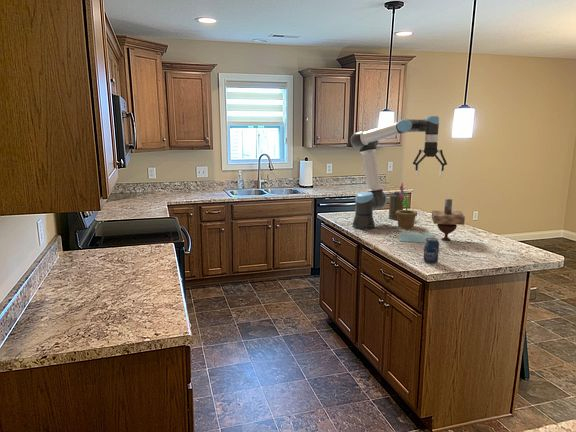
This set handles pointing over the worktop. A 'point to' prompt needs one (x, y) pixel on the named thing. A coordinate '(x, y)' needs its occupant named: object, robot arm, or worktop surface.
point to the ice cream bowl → (446, 230)
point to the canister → (395, 205)
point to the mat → (414, 237)
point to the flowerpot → (405, 213)
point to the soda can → (431, 250)
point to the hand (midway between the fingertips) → (428, 176)
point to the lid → (448, 215)
